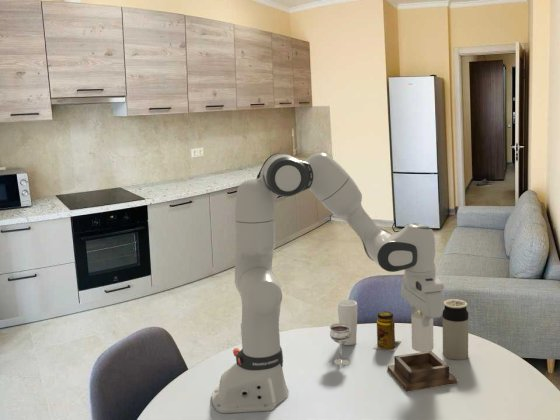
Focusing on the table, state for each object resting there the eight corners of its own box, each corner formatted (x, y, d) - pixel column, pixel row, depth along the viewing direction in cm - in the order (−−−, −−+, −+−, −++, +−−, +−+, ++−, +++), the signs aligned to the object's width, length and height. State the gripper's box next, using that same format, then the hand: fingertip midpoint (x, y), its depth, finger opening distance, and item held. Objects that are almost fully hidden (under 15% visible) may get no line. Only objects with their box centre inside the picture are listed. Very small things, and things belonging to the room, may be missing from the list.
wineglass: (355, 363, 175) (354, 328, 173) (337, 368, 173) (335, 333, 171) (345, 355, 181) (344, 321, 179) (327, 359, 179) (325, 325, 177)
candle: (433, 343, 165) (433, 296, 162) (433, 352, 159) (432, 304, 156) (412, 342, 167) (411, 295, 164) (411, 351, 160) (410, 303, 158)
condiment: (373, 348, 185) (372, 315, 183) (380, 339, 193) (379, 307, 191) (394, 352, 182) (393, 318, 180) (400, 342, 189) (400, 309, 187)
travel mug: (470, 360, 173) (470, 307, 170) (444, 360, 174) (444, 307, 171) (465, 349, 180) (466, 298, 177) (441, 349, 182) (441, 298, 179)
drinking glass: (357, 347, 187) (356, 306, 184) (338, 346, 188) (336, 306, 186) (358, 339, 193) (357, 299, 191) (340, 338, 195) (338, 299, 192)
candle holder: (406, 391, 156) (406, 375, 155) (387, 370, 170) (387, 355, 169) (457, 383, 159) (457, 367, 158) (434, 362, 173) (434, 348, 172)
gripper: (395, 269, 168) (396, 311, 171) (425, 289, 148) (426, 336, 151) (414, 267, 169) (415, 308, 172) (446, 286, 150) (447, 333, 152)
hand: (420, 321), depth 161 cm, fingers closed on candle, 5 cm apart
